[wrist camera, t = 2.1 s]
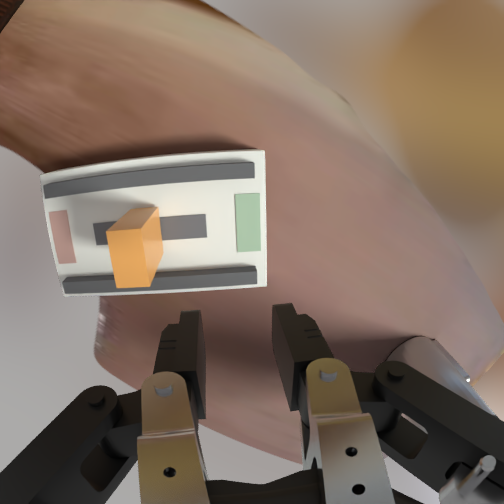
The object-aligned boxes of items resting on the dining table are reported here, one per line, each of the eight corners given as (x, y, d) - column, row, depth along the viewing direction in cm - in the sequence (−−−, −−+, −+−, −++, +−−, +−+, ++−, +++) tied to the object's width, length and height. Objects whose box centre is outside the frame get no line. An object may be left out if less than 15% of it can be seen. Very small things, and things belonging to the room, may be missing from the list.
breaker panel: (258, 149, 28) (265, 150, 24) (260, 268, 32) (267, 286, 28) (58, 169, 26) (39, 175, 22) (77, 279, 30) (63, 297, 27)
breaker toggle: (158, 206, 24) (141, 228, 19) (163, 252, 26) (150, 286, 20) (130, 209, 24) (106, 231, 18) (136, 254, 26) (116, 288, 20)
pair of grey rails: (252, 161, 25) (254, 162, 23) (255, 278, 28) (257, 284, 27) (49, 183, 23) (43, 185, 22) (69, 288, 26) (65, 293, 25)
